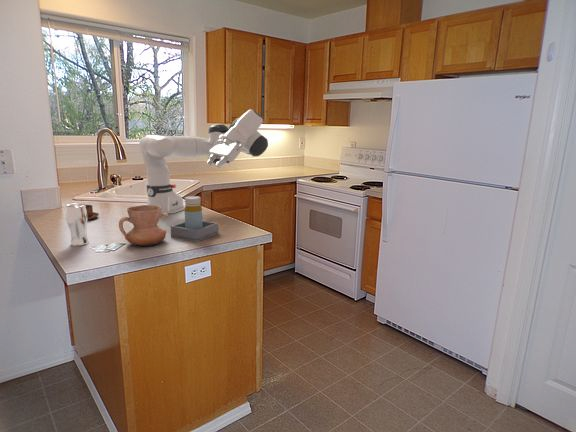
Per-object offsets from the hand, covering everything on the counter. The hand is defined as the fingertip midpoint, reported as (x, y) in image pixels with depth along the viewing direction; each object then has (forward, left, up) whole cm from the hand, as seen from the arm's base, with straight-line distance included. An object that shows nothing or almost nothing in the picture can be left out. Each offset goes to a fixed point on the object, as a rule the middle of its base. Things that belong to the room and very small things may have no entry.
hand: (212, 165), depth 158 cm
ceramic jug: (+25, -13, -29) cm, 41 cm away
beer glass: (+38, -34, -29) cm, 59 cm away
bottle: (+8, -5, -28) cm, 29 cm away
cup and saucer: (+13, -67, -29) cm, 74 cm away
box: (+7, -4, -29) cm, 30 cm away
